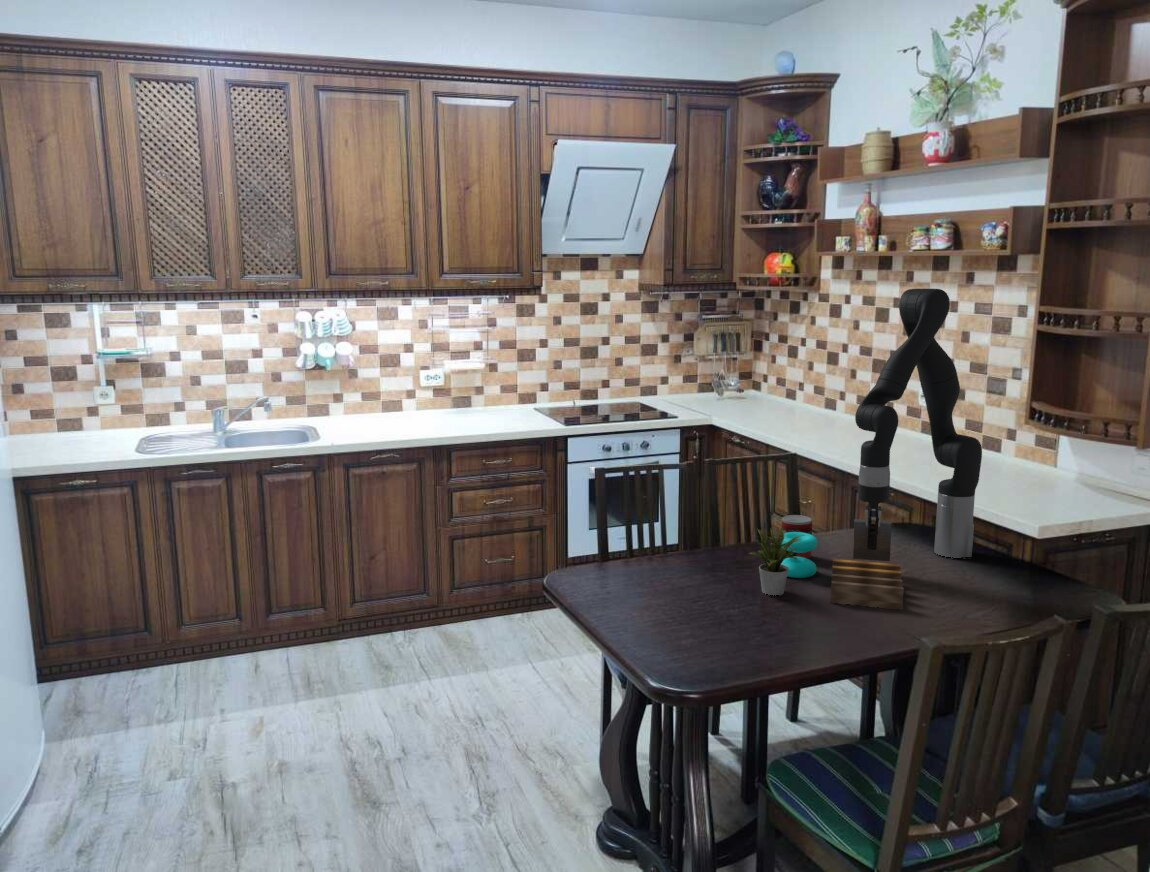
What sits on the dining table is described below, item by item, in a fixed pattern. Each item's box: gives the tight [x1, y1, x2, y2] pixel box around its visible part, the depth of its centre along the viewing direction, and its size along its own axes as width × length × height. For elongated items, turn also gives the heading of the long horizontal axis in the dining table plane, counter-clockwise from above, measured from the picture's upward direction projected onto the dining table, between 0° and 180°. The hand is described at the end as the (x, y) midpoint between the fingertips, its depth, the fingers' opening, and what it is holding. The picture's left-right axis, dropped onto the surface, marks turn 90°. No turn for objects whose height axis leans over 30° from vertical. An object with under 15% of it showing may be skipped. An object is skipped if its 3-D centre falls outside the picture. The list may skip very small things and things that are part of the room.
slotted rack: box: [830, 558, 905, 611], centre depth 220 cm, size 16×17×5 cm
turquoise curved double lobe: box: [780, 532, 819, 579], centre depth 235 cm, size 10×10×10 cm
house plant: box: [748, 526, 804, 597], centre depth 220 cm, size 14×14×16 cm
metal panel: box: [852, 518, 892, 562], centre depth 234 cm, size 9×2×10 cm, turn 73°
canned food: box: [780, 514, 813, 560], centre depth 247 cm, size 8×8×11 cm
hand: (871, 546), depth 234 cm, fingers closed on metal panel, 2 cm apart
